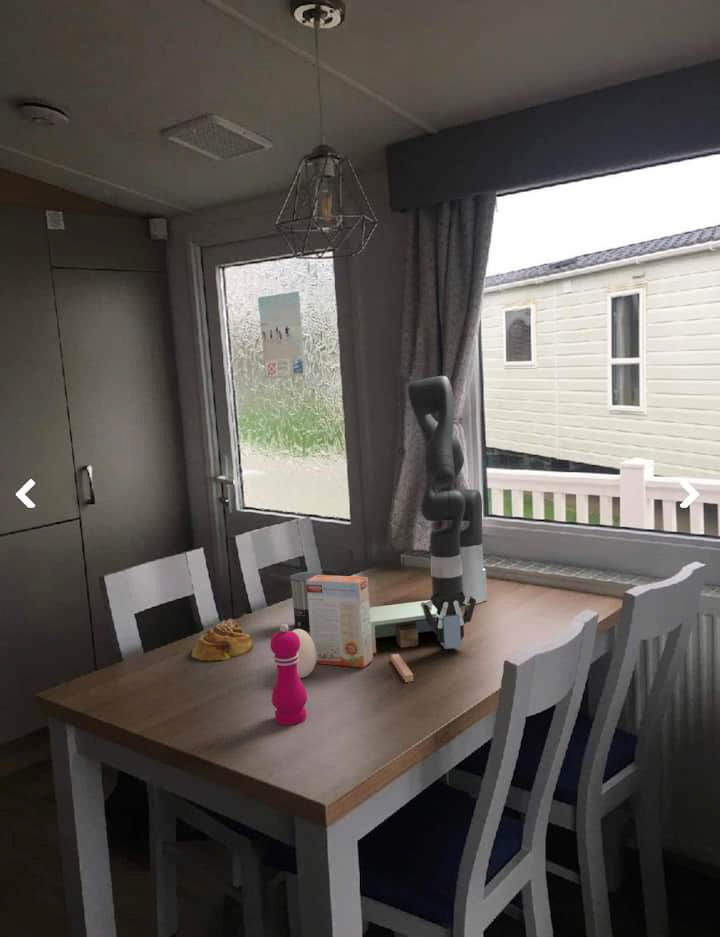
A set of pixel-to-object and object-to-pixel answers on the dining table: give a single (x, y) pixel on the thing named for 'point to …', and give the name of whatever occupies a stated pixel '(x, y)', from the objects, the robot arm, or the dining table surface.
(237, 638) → the pastry
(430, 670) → the dining table surface
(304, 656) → the egg
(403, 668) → the straight stick
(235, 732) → the dining table surface
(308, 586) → the cracker box
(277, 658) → the pepper mill
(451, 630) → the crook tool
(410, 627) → the walnut cube
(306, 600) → the milk frother
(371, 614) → the cubby
